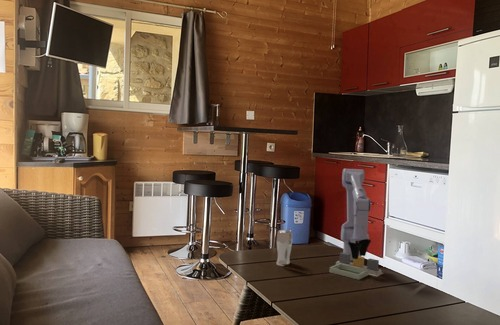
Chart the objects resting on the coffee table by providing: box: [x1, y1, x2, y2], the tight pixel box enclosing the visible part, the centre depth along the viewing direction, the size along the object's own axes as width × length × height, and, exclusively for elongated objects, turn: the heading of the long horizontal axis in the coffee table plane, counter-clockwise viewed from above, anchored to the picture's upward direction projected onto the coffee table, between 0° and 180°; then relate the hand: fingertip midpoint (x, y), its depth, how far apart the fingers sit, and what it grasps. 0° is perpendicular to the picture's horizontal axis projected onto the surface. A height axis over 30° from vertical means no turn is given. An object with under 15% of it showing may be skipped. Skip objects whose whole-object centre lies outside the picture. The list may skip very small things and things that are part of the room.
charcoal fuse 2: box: [366, 258, 380, 271], centre depth 176 cm, size 2×4×6 cm, turn 51°
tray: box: [328, 263, 369, 280], centre depth 174 cm, size 9×13×3 cm
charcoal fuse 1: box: [338, 251, 351, 264], centre depth 185 cm, size 2×4×6 cm, turn 50°
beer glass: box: [275, 229, 293, 267], centre depth 185 cm, size 7×7×15 cm
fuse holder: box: [335, 260, 384, 277], centre depth 181 cm, size 7×20×2 cm, turn 51°
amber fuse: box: [352, 256, 365, 268], centre depth 180 cm, size 2×4×6 cm, turn 51°
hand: (358, 257), depth 180 cm, fingers open, 7 cm apart
